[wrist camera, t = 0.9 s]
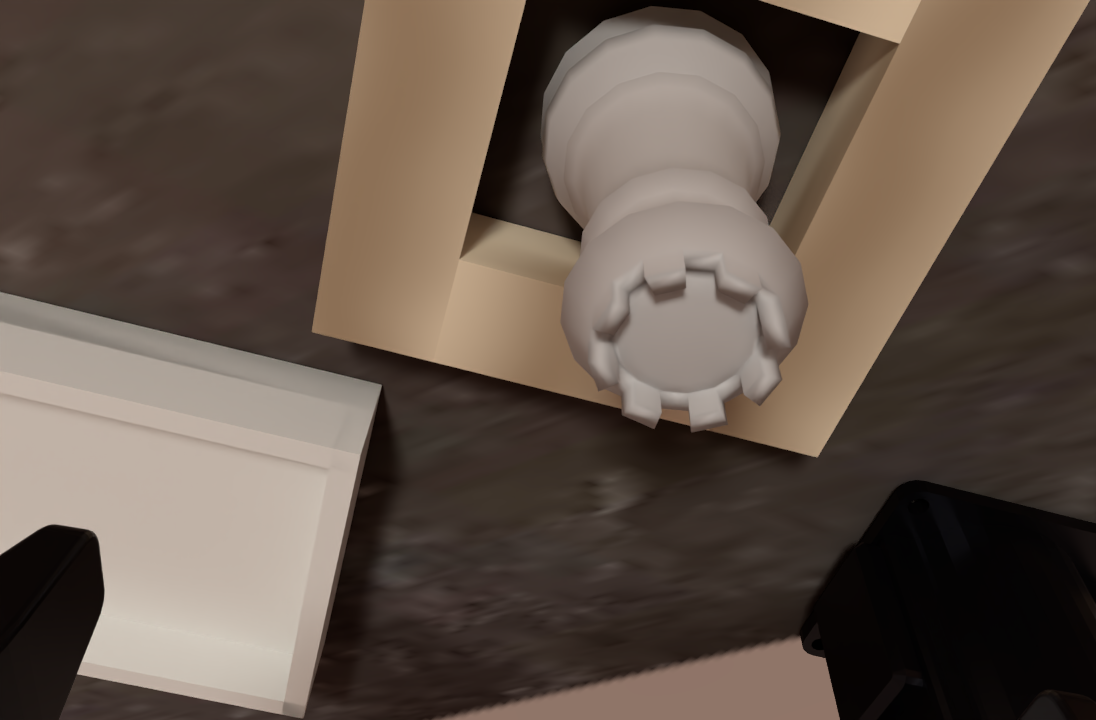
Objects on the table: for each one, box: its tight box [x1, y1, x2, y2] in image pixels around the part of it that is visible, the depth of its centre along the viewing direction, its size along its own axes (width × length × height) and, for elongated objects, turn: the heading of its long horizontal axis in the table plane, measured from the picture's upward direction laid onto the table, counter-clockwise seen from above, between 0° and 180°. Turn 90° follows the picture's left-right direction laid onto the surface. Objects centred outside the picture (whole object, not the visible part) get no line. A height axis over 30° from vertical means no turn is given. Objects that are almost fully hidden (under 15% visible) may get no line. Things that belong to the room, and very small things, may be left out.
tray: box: [0, 292, 382, 719], centre depth 23 cm, size 12×10×2 cm
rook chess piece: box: [540, 6, 808, 433], centre depth 15 cm, size 4×4×8 cm
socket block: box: [312, 0, 1090, 457], centre depth 18 cm, size 11×11×2 cm
